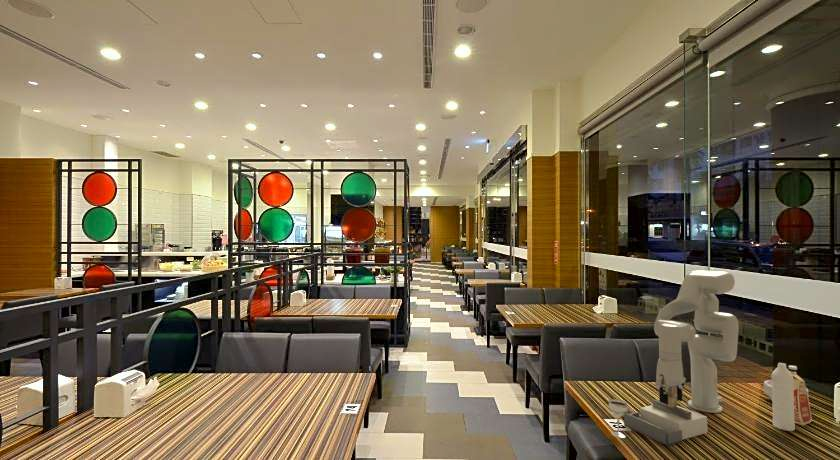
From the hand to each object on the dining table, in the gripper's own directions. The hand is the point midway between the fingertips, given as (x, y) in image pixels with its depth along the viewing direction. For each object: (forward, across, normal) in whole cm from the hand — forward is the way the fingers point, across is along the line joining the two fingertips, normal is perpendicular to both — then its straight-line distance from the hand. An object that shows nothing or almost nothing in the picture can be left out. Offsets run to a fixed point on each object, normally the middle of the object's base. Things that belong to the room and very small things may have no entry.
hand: (670, 401), depth 161 cm
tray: (+10, +11, 0) cm, 15 cm away
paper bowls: (+11, -73, +3) cm, 74 cm away
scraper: (+4, 0, 0) cm, 4 cm away
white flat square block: (+10, -1, 0) cm, 10 cm away
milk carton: (+11, -55, +14) cm, 58 cm away
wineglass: (+11, +24, -4) cm, 26 cm away
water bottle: (+11, -41, +18) cm, 46 cm away
